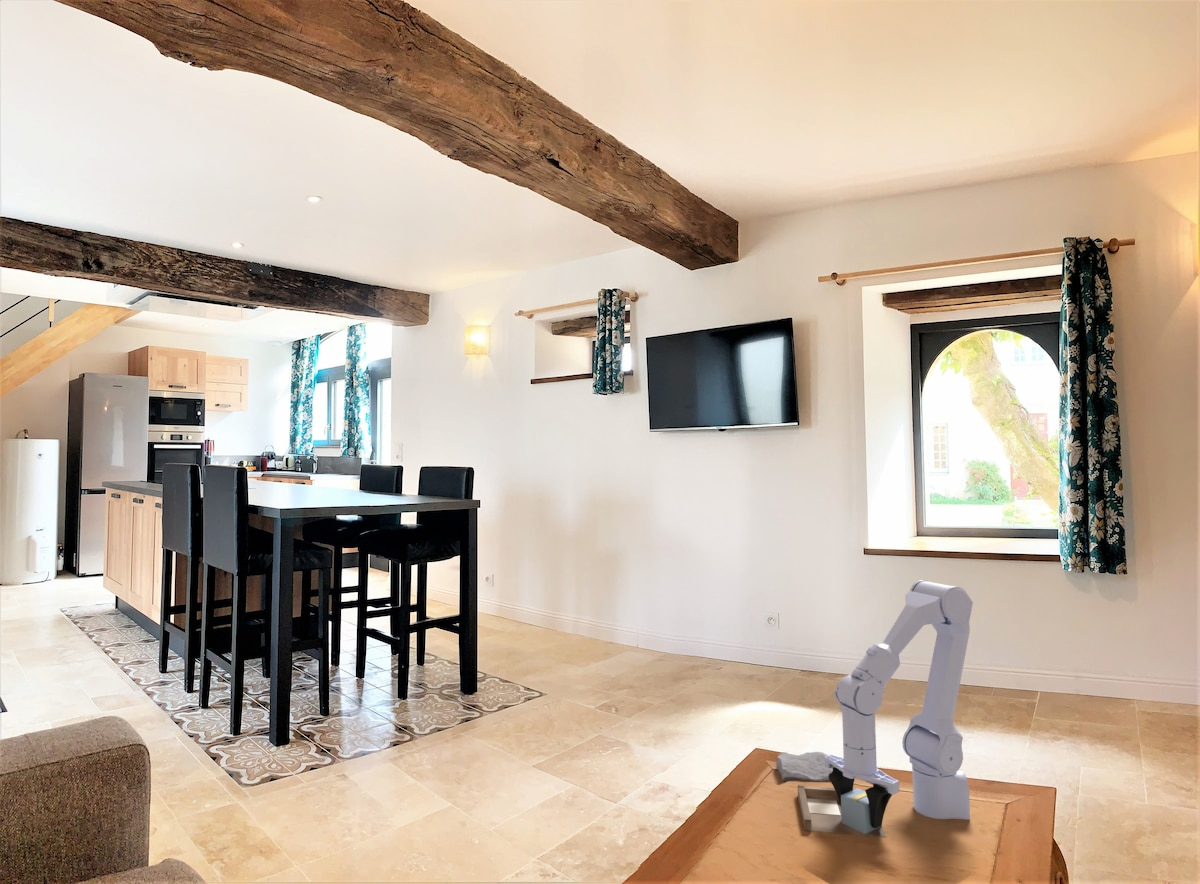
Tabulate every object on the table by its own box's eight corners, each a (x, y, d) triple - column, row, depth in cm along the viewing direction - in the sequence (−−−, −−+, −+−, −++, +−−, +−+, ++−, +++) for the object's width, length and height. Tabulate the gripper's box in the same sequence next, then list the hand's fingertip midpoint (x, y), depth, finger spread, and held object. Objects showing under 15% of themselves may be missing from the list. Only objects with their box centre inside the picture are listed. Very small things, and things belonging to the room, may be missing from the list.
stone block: (840, 796, 148) (829, 766, 157) (840, 775, 147) (829, 747, 157) (782, 796, 149) (775, 767, 159) (782, 775, 148) (774, 747, 158)
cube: (858, 815, 133) (857, 787, 133) (882, 825, 129) (881, 797, 129) (841, 822, 130) (840, 794, 130) (865, 834, 126) (864, 804, 126)
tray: (871, 806, 139) (871, 790, 139) (886, 843, 125) (886, 825, 125) (798, 801, 141) (797, 785, 141) (804, 837, 127) (804, 819, 128)
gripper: (813, 737, 134) (815, 810, 133) (881, 762, 122) (883, 842, 121) (836, 728, 138) (839, 799, 137) (905, 752, 126) (907, 830, 125)
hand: (861, 819), depth 129 cm, fingers open, 6 cm apart
